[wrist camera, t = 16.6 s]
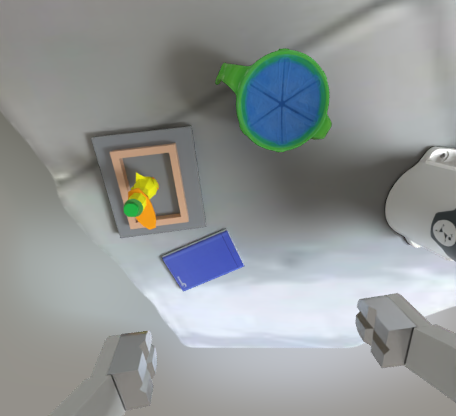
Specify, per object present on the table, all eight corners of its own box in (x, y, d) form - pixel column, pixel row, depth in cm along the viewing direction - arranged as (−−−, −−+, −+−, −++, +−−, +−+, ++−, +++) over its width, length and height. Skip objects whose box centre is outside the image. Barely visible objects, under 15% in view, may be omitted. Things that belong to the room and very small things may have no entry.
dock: (191, 125, 39) (190, 127, 36) (205, 223, 45) (206, 231, 42) (94, 136, 38) (86, 139, 35) (123, 233, 44) (117, 242, 41)
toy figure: (171, 200, 41) (161, 237, 30) (150, 208, 41) (133, 248, 30) (153, 160, 39) (134, 185, 28) (130, 168, 39) (103, 196, 28)
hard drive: (183, 292, 49) (244, 267, 48) (161, 259, 46) (227, 231, 45) (183, 287, 50) (243, 262, 49) (163, 254, 47) (226, 227, 46)
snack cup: (199, 103, 38) (198, 104, 28) (240, 32, 35) (255, 7, 25) (283, 161, 42) (306, 179, 33) (326, 102, 39) (365, 103, 30)
